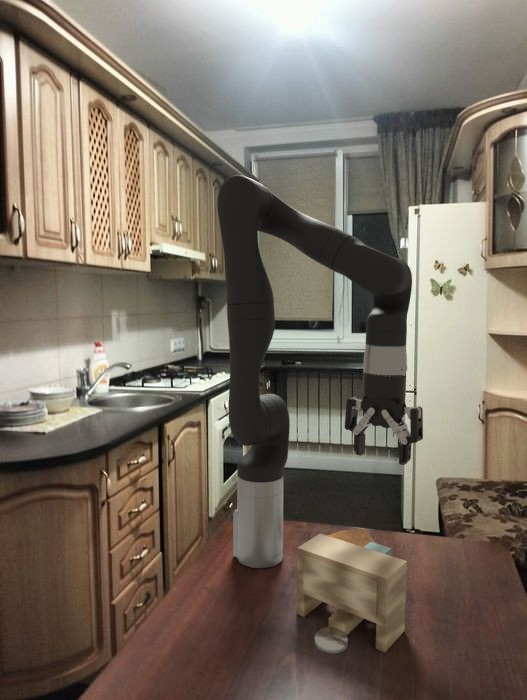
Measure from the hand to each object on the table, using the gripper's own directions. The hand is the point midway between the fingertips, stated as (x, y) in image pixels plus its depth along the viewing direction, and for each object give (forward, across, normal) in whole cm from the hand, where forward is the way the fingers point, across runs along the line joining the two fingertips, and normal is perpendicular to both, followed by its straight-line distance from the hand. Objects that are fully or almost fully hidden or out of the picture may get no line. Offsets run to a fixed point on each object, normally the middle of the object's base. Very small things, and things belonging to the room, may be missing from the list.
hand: (381, 459), depth 99 cm
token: (+24, +3, -20) cm, 32 cm away
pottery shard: (+24, -11, +10) cm, 29 cm away
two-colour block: (+24, +2, -10) cm, 26 cm away
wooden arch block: (+24, +2, -14) cm, 27 cm away
